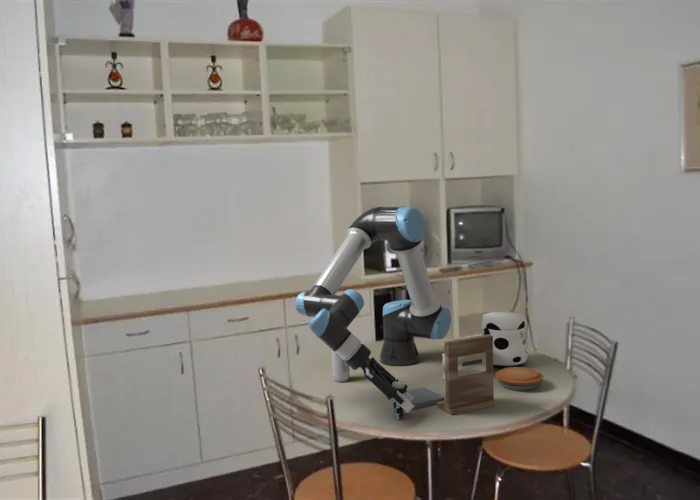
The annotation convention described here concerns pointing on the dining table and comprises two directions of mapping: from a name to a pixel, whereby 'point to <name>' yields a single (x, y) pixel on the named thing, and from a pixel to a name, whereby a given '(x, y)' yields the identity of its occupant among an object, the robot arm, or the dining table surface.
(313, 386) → the dining table surface
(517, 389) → the pie
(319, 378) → the dining table surface
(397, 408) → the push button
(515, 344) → the milk container
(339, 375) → the energy drink can
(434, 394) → the mat
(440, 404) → the mounted unit
